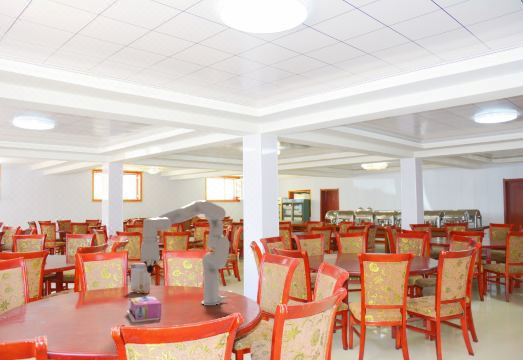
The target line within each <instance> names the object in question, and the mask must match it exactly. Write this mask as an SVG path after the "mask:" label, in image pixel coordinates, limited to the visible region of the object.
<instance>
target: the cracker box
mask: <svg viewBox="0 0 523 360" xmlns="http://www.w3.org/2000/svg"><path fill="white" fill-rule="evenodd" d="M150 264H151V263H149V265H150ZM131 291H133V292H139V293H138V294H141V293H146V294H148V293H147V292H150V293H151V273H148V272H147V265H146V264H145V263H141V262H132V263H131V264H130V292H131ZM133 292H132V293H133Z"/></svg>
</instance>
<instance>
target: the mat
mask: <svg viewBox="0 0 523 360" xmlns="http://www.w3.org/2000/svg"><path fill="white" fill-rule="evenodd" d="M126 313H127V315H128V316H129V319H130V320H131V321H132V323H137V322H146V321H154V320H155V321H156V320H160V319H161V317H159V318H150V319H141V320H135V318H134V317H133V316H132V314H131V313H130V312H129V310H127V311H126Z"/></svg>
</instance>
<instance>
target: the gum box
mask: <svg viewBox="0 0 523 360" xmlns="http://www.w3.org/2000/svg"><path fill="white" fill-rule="evenodd" d="M129 301H130V306H129V309H128V311H129V312H130V313H131V314H132V316H133V317H134V318H135V320H141V319H150V318H162V302H161V300H158V299H157V298H156V296H154V295H146V296H140V297H139V296H138V297H131V298H129Z"/></svg>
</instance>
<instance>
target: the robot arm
mask: <svg viewBox="0 0 523 360" xmlns="http://www.w3.org/2000/svg"><path fill="white" fill-rule="evenodd" d="M226 214H227V213H226V210H225V209H224V207H222V206H220V205H217V204H216V203H213V202H211V201H209V200H204V199H201V200H195V201H192V202H190V203H188V204H186V205H183V206H182V207H180V208H177V209H174V210H172V211H168V212H166V213H163V214H160V215H159V216H157V217H155V218H154V217H153V218H152V217H151V218H150V217H149V218H144V219H143V223H142V224H143V225H142V226H143V228H142V229H143V233H142V235H143V237H142V238H143V239H142V240H143V241H142V242H141V245H140V255H139V256H140V257H139V258H140V260H139V263H145V264H146V265H147V272H148V273H150V274H152V273H153V271H154V265H155V264H156V263H160V246H159V241H160V237H158V232H159V231H162V232H163V231H164V232H165V231H168V230H170V229H171V227H172V225H173V224H179V223H183V222H186V221H189V220H191V219H192V218H194V217H197V216H199V215H204V218H205V219H206V220H207V222H208V225H209V232H208V233H209V234H208V238H207V248H208V249H209V250H211V251H208V252H206V253H205V254H203V256H202V261H201V262H202V267H203V300H202V301H201V303H202V304H204V305H203V306H217V305H216V304H218V305H221V304H222V303H223V302H222V301H223V300H227V299H228V298H227V295H226V296H223V295H222V296H221V295H220V272H219V270H222V269H223V268H225V267H226V265H227V262H228V256H229V253H230V252H229V251H230V241H229V239H228V237H227V236H226V235H223V234H224V224H223V221H222V220H224V219H225V217H226ZM213 251H214V252H213ZM149 264H150V265H149ZM201 303H200V304H201ZM220 303H221V304H220ZM202 304H201V305H202Z"/></svg>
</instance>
